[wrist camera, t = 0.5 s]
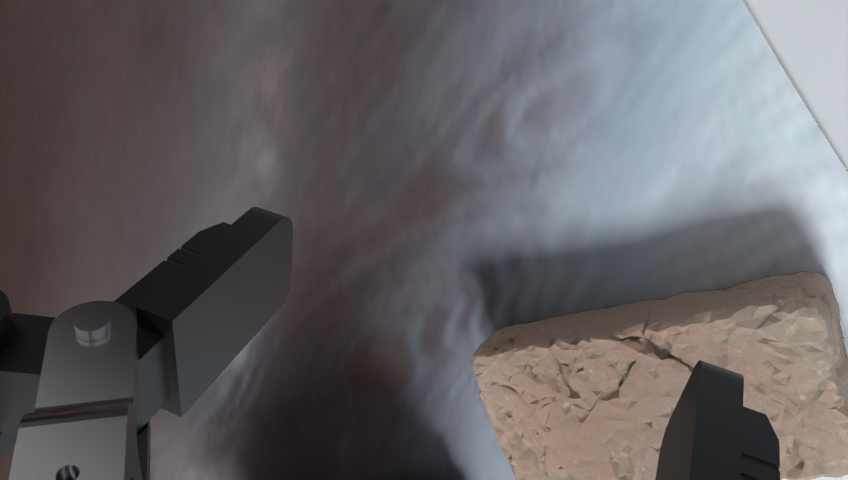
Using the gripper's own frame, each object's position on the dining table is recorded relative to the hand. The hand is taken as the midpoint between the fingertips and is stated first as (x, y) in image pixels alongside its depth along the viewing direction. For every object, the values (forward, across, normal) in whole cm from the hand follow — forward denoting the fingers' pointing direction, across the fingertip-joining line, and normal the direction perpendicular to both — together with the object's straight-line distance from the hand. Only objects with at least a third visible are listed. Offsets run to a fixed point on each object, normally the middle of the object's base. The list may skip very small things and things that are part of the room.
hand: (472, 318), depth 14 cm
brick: (+20, -7, +16) cm, 27 cm away
